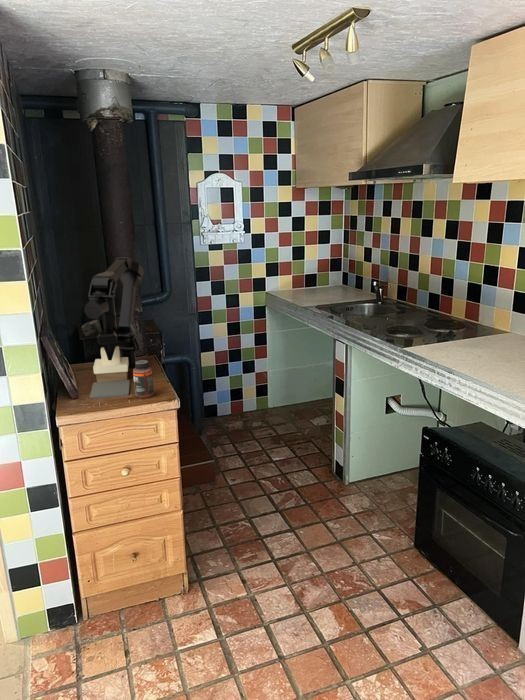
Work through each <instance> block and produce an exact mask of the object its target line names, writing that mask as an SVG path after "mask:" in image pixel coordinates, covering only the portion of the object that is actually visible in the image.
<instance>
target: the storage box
mask: <svg viewBox="0 0 525 700" xmlns="http://www.w3.org/2000/svg"><path fill="white" fill-rule="evenodd" d="M128 372H129V371H128ZM128 372H114V373H101V374H95V376H96V382H107V381H120V380H128V375H129V374H128Z"/></svg>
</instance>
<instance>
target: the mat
mask: <svg viewBox="0 0 525 700" xmlns="http://www.w3.org/2000/svg"><path fill="white" fill-rule="evenodd" d="M130 383H131V380H130V379H127V380H120V381H107V382H97V381H95V382H93V383H92V387H91V389H90V390H91V391H90V393H89V399H90V400H91V399H101V398H103V399H105V398H113V397H116V398H117V397H126V396H127V397H128V396H130V395H129V393H130Z"/></svg>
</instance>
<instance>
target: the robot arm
mask: <svg viewBox="0 0 525 700" xmlns="http://www.w3.org/2000/svg"><path fill="white" fill-rule="evenodd" d="M144 271H145V270H144V267H143V266H142V265H141V264H140V263H138V262H136V261H135V260H132V259H131V258H129V257H127V256H126V257H123V256H121V257H120V256H119V257H116V258H115V259H114V262H113V263H112V264H111V265H110V266H109V267H108V268H107V269H106V270H105V271H103V272H100V273H97V274H95V275H94V276H93V277H92V279H91V282H90V286H89V289H88V295H87V297H88V300H89V301H88V302H87V303H86V304H85V306H84V309H83V310H84V315H85V316H86V317H88V319H91V321H89V322H86V323H84V324H83V325H81V330H82V333H83V334H84V335H85V337H87V336H89V335H91V334H93V333H96V332H97V333H99V334H98V335H96V342H97V344H98V345H99V346H101V347H104V349H105V352H106V355H107V358H108V360H112V357H113V354H114V351H115V347H117V346H119V351H120V358H122V357H128V362H129V365H128V368H135V367H136V366H135V362H136V361H137V358H136V352H137V351H140V350H141V342H140V341H139V339H138V336H137V331H136V330H135V328H134V325H133V322H134V313H135V305H136V294H137V288H138V287H139V286H140V285H141V283H142V279H143V276H144V274H145V273H144ZM119 279H120V282H121V283H122V285H123V287H122V296H121V297H122V298H121V305H120V312H119V313H120V314H119V322H117V313H116V307H115V306H116V305H115V297H116V294H115V293H116V289H117V287H118V283H117V281H118V280H119Z"/></svg>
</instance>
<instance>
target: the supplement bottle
mask: <svg viewBox="0 0 525 700" xmlns="http://www.w3.org/2000/svg"><path fill="white" fill-rule="evenodd" d="M135 366H136V367H133V370H132V378H133V387H134V396H135V397H136V398H139V399H147V398H151V397H152V396H153V395H155V394H154V393H155V392H154V379H153V378H154V377H153V370H152V367H150V366H149V361H148V360H145V359H141V360H136V362H135Z"/></svg>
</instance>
